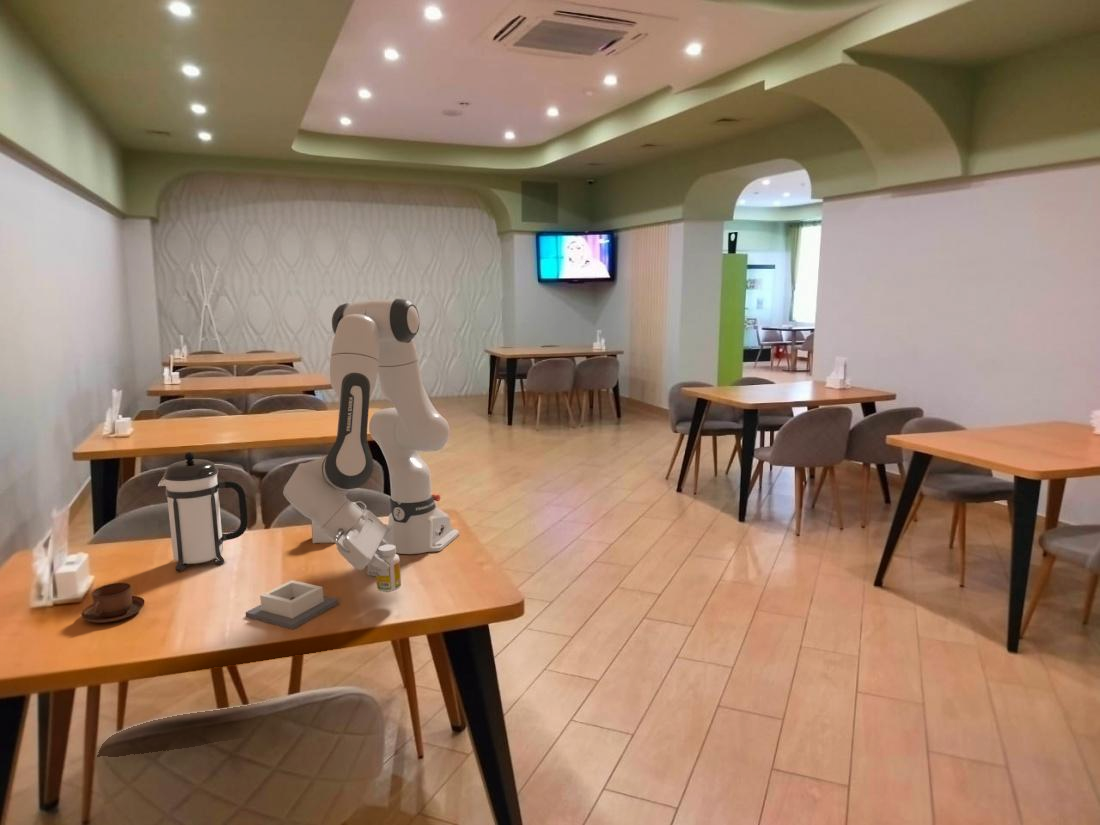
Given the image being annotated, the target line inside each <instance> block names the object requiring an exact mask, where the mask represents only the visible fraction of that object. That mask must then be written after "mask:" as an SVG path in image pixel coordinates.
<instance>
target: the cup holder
mask: <svg viewBox="0 0 1100 825" xmlns="http://www.w3.org/2000/svg"><path fill="white" fill-rule="evenodd" d="M259 597H260V604H259V605H258V606H255V607H254V608H251V609H249V610H247V611H245V617H246V618H250V619H253V620H257V621H261V622H264V623H268V624H271V625H276V626H280V627H283V628H287V629H291V630H294V629H296V628H298V627H299V626H301V625H303V624H305V623H306V622H308V621H310V620H312V619H314V618H316V617H318V616H319V615H321V614H322V613H324V612H326V611H328V610H329V609H332V608H333V607H335V606H337V605H339V599H338V598H335V597H330V596H325V595H324V587H323V586H319V585H315V584H311V583H307V582H303V581H299V580H293V579H290V580H289V581H287V582H285V583H282V584H281V585H279V586H276V587H274V588H273V589H271V590H269V591H267V592H264V593H262V594H261V595H260V596H259Z"/></svg>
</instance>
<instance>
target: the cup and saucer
mask: <svg viewBox="0 0 1100 825" xmlns="http://www.w3.org/2000/svg"><path fill="white" fill-rule="evenodd" d="M91 595H92V600H93V601H92V604H91V605H89V606H87V607H85V609H83V610H82V612H81V616H82V618H83V619H84V620H85V621H87V622H89V623H96V624H104V623H105V624H106V623H113V622H118V621H121V620H125V619H127V618H130V617H132V616H134V615H135V614H137V613H138V612H140V611H141V609H142V608H144V606H145V602H146V601H145V599H144V598H142V597H141V596H135V595H132V585H131V584H130V583H128V582H115V583H109V584H106V585H102V586H99V587H97V588H96V589H94V590H93V591H92V594H91Z"/></svg>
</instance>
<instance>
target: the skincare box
mask: <svg viewBox="0 0 1100 825" xmlns="http://www.w3.org/2000/svg"><path fill="white" fill-rule="evenodd" d="M383 524H384V523H383ZM384 525H385V527H386V529H387V531H386V533H385V535H384V537H383V539H385V540H386V541H387V543H388V544H390V545H393V528H392V525H388V523H387V524H384ZM375 553H376V554H377V555H378V548H377V550H376V552H375ZM378 556H379V555H378ZM366 567H367V569H366V570H367V571H366V572H367V576H372V577H376V567H375V566H373V565H371V564H369V563H368V564H367V565H366Z"/></svg>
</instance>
